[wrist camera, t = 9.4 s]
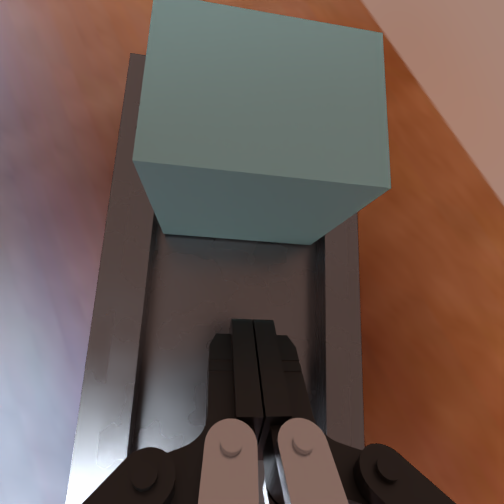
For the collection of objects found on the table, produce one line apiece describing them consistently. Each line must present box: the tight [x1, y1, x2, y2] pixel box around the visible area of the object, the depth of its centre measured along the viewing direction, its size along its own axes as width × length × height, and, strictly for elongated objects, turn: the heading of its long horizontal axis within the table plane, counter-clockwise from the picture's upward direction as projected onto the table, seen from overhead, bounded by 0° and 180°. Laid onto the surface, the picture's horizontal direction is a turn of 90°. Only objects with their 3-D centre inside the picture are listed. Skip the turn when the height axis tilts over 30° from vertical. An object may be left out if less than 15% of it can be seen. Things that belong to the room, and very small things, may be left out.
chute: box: [66, 53, 365, 504], centre depth 17 cm, size 14×28×2 cm, turn 178°
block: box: [132, 0, 391, 245], centre depth 14 cm, size 8×6×8 cm
